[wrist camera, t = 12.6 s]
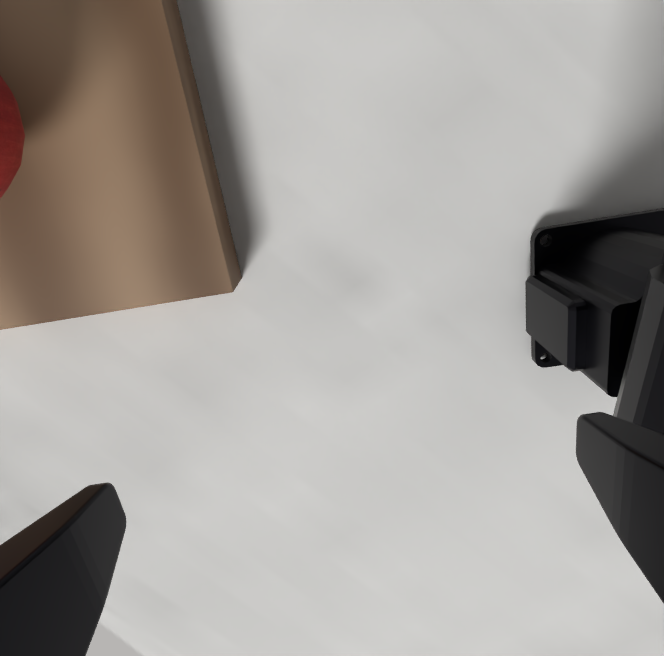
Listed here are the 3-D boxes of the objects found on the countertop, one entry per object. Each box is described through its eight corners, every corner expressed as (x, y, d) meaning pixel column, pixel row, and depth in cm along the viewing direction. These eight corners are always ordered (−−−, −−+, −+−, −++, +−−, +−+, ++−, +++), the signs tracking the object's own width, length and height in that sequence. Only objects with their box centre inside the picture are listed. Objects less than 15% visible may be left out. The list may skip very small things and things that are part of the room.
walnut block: (156, -103, 17) (123, -153, 14) (244, 273, 22) (233, 291, 19) (-210, -30, 18) (-312, -64, 15) (-45, 321, 22) (-98, 345, 20)
